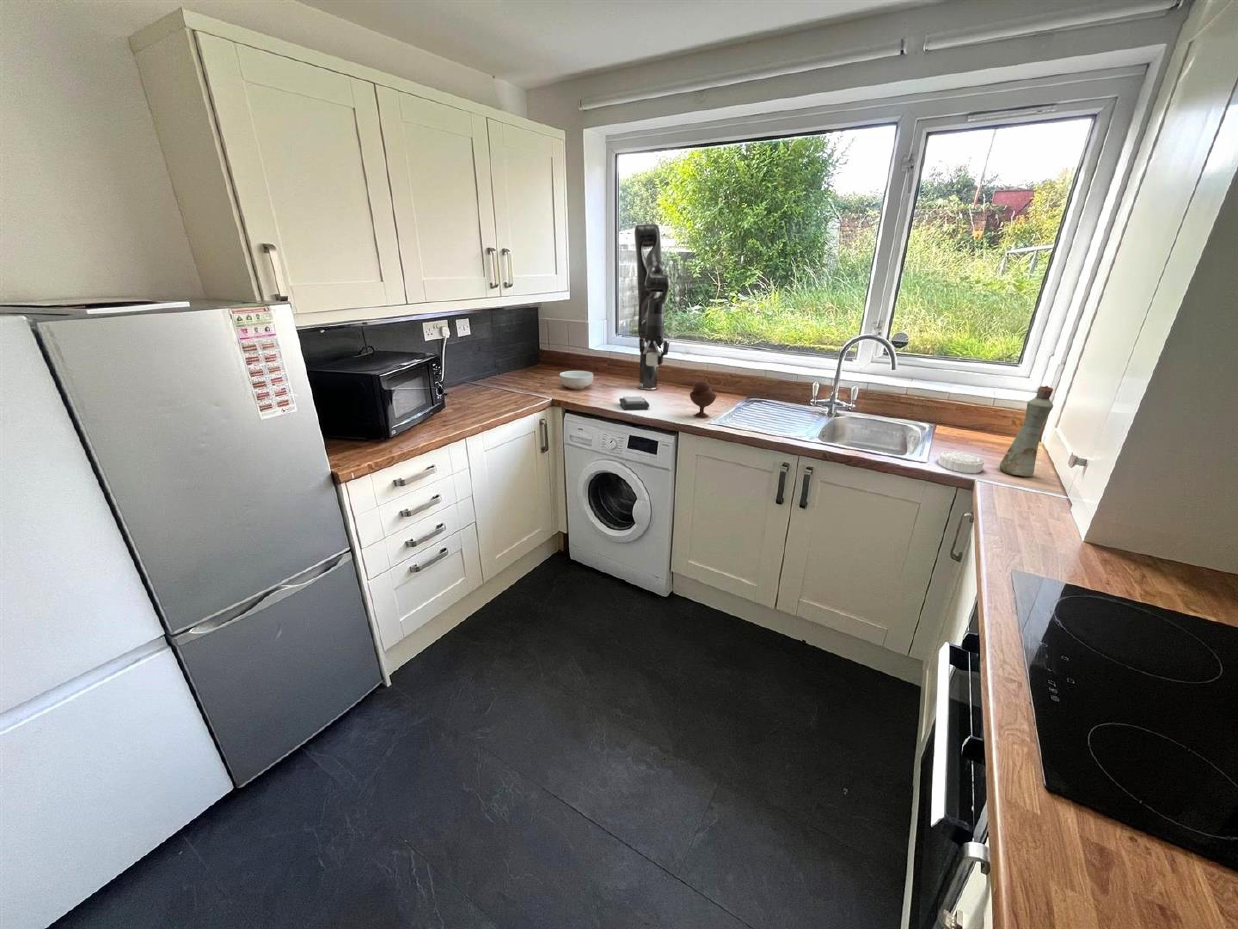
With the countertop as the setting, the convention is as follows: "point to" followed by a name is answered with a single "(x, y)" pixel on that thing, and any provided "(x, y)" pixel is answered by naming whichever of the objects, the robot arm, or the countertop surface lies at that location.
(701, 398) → the ice cream bowl
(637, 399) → the scale pan
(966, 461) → the mooncake
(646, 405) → the scale
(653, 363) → the white short cylinder
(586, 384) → the cereal bowl
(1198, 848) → the countertop surface
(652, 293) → the robot arm
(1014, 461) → the bottle
